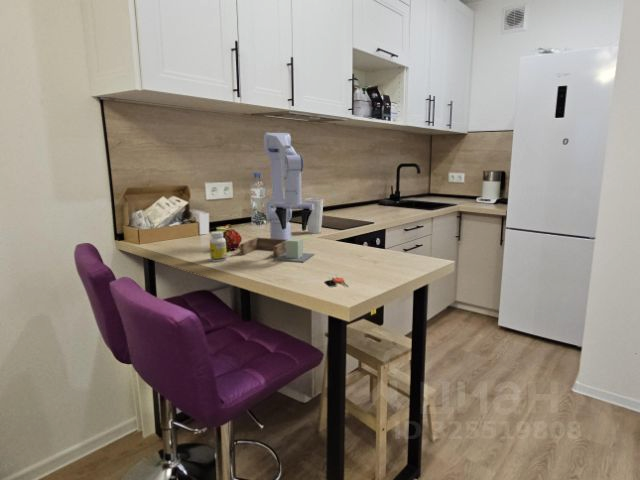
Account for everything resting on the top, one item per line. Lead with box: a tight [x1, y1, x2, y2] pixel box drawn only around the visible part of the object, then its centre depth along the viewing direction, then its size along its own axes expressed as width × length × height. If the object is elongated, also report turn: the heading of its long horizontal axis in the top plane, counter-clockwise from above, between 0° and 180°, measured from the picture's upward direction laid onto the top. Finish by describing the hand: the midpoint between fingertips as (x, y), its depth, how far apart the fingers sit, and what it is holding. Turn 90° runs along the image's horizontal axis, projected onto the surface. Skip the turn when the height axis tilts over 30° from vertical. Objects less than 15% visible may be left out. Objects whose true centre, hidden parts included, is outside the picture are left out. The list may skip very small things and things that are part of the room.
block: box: [286, 237, 304, 258], centre depth 147 cm, size 4×4×6 cm
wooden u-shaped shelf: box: [239, 237, 286, 259], centre depth 155 cm, size 13×14×4 cm
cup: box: [304, 197, 324, 234], centre depth 191 cm, size 8×8×16 cm
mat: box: [273, 252, 315, 263], centre depth 147 cm, size 11×11×1 cm
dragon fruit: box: [222, 228, 243, 251], centre depth 160 cm, size 8×8×12 cm
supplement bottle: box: [209, 230, 228, 263], centre depth 144 cm, size 5×5×10 cm
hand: (293, 229), depth 145 cm, fingers open, 7 cm apart
